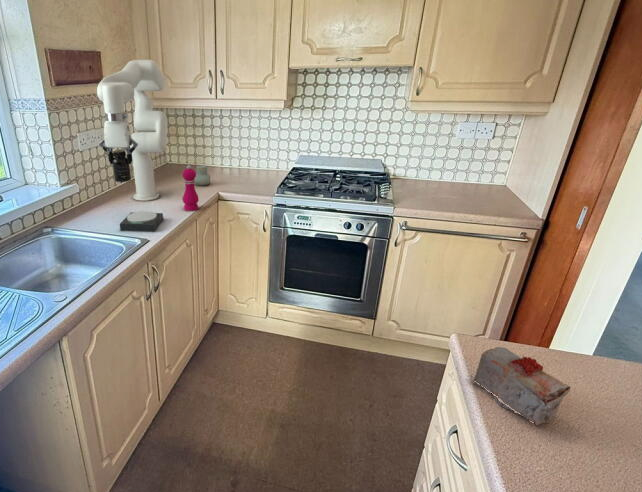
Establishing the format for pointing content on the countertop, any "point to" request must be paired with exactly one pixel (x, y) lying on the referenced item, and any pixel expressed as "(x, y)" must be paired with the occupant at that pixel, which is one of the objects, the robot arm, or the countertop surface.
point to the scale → (141, 221)
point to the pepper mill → (190, 190)
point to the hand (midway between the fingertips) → (120, 163)
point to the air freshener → (202, 176)
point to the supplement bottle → (121, 166)
